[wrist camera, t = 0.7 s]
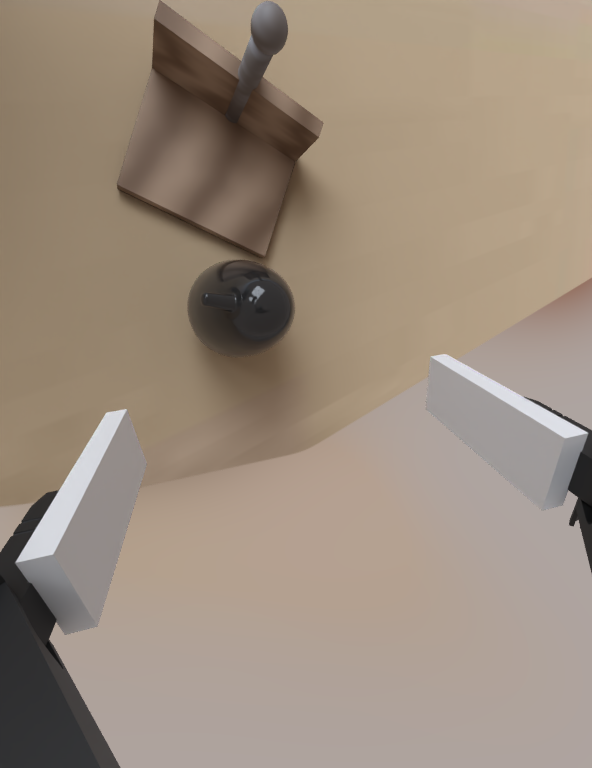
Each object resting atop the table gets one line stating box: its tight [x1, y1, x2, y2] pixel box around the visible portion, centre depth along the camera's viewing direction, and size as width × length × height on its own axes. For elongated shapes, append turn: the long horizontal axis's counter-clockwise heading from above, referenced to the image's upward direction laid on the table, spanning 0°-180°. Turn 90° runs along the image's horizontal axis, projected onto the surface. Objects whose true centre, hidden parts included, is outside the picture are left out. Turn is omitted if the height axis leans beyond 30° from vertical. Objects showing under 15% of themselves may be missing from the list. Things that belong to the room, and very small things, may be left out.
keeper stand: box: [117, 1, 323, 258], centre depth 30 cm, size 16×14×14 cm
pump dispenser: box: [188, 260, 295, 357], centre depth 33 cm, size 10×10×15 cm
